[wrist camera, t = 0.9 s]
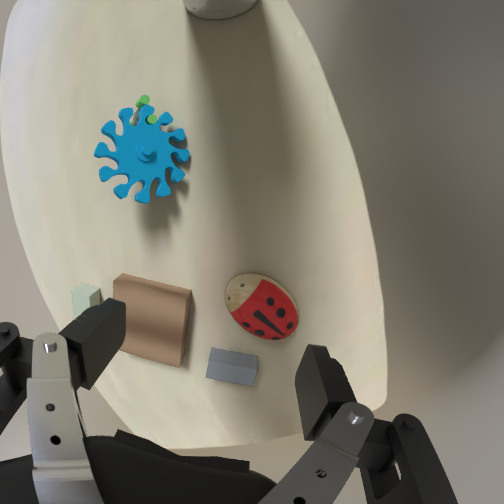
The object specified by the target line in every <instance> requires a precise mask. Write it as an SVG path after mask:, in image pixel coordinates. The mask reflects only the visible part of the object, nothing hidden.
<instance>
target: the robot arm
mask: <svg viewBox="0 0 504 504" xmlns="http://www.w3.org/2000/svg"><path fill="white" fill-rule="evenodd" d="M183 2H184V4H185V6H186V8H187V10H188V11H189V12H190V13H191V14H193V15H195V16H197V17H201V18H205V19H225V18H230V17H234V16H237V15H239V14H242V13H244V12H246V11H247V10H249V9H250V8H251V7H252V6H254V4H255V3H256V2H257V0H183ZM125 335H126V304H125V302H122V301H119V300H116V299H113V298H108V299H107V300H105V301H104V302H103V303H102V304H101V305H100V306H99V305H95V306H92V307H89V308H87V309H86V310H85V311H84V312H82V313H81V315H79V316H78V317H77V318H76V319H74V320H73V321H72V322H71V323H70V324H68V325H67V326H66V327H65V328H64V329H63V330H62V331H61V332H60V333H58V334H56V333H44V334H41V335H39V336H38V337H36V339H35V340H32V339H27V338H23V337H20V334H19V330H18V328H17V326H16V325H15V324H13V323H10V322H2V323H0V368H2V371H3V375H2V376H1V377H0V435H1V433H2V432H3V430H4V429H5V427H6V426H7V424H8V423H9V421H10V420H11V419H12V417H13V416H14V414H15V413H16V412H17V410H18V409H19V407H20V406H21V405H22V403H23V402H24V401H25V399H26V398H27V410H28V425H29V435H30V443H31V450H32V454H30V455H26V456H22V457H19V458H14V459H10V460H5V461H1V462H0V504H333V502H334V501H335V499H336V498H337V496H338V495H339V493H340V492H341V490H342V488H343V487H344V485H345V484H346V482H347V480H348V478H349V477H350V475H351V473H352V472H353V470H354V468H355V467H358V468H360V472H361V477H362V481H363V486H364V490H365V495H366V500H367V504H458V503H457V500H456V497H455V495H454V492H453V490H452V487H451V485H450V483H449V480H448V478H447V476H446V473H445V471H444V469H443V466H442V464H441V462H440V460H439V458H438V456H437V454H436V452H435V449H434V447H433V445H432V443H431V441H430V439H429V437H428V435H427V433H426V431H425V429H424V427H423V425H422V423H421V422H420V420H418V419H417V418H416V417H414V416H413V415H409V414H399V415H397V416H396V417H395V418H394V420H393V421H392V422H388V421H384V420H379V419H375V418H374V415H373V413H372V411H371V410H370V409H369V408H368V407H366V406H365V405H363V404H360V403H357V400H356V398H355V395H354V393H353V391H352V388H351V386H350V383H349V382H348V379H347V376H346V375H345V372H344V369H343V367H342V365H341V364H340V363H339V362H338V361H337V360H336V359H334V358H330V355H329V353H328V350H327V348H326V347H325V346H319V345H312V344H309V345H308V346H307V347H306V350H305V352H304V355H303V357H302V360H301V362H300V365H299V367H298V370H297V372H296V377H295V387H296V393H297V398H298V404H299V410H300V416H301V422H302V428H303V434H304V440H306V441H314V443H313V444H312V445H311V446H310V448H309V449H308V450H307V451H306V452H305V454H304V455H303V456H302V457H301V458H300V460H299V461H298V462H297V463H296V464H295V465H294V466H293V468H292V469H291V470H290V471H289V472H288V473H287V474H286V475H285V476H284V477H283V478H282V480H281V481H280V482H279V483H278V484H277V483H275V482H274V481H272V480H271V479H269V478H267V477H266V476H264V475H262V474H260V473H257V472H255V471H252V470H249V463H250V462H249V461H244V460H236V459H228V458H222V457H217V456H214V457H213V456H212V457H211V456H210V457H197V456H180V455H177V454H175V453H173V452H171V451H169V450H167V449H165V448H163V447H161V446H159V445H157V444H155V443H153V442H152V441H150V440H148V439H144V438H141V437H138V436H136V435H133V434H130V433H127V432H124V431H122V430H119V429H118V430H117V432H116V434H115V436H114V437H112V436H89V437H88V434H87V431H86V428H85V424H84V420H83V416H82V412H81V408H80V404H79V398H78V394H77V390H78V388H79V387H80V386H81V387H83V388H85V389H88V390H90V389H91V387H92V386H93V385H94V383H95V382H96V380H97V379H98V378H99V376H100V375H101V373H102V372H103V371H104V369H105V368H106V366H107V365H108V364H109V362H110V361H111V360H112V358H113V357H114V355H115V354H116V353H117V351H118V350H119V349H120V347H121V346H122V344H123V342H124V340H125ZM396 462H397V464H398V467H399V470H400V473H401V480H399V476H398V473H397V470H396V467H395V463H396Z"/></svg>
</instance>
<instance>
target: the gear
mask: <svg viewBox="0 0 504 504" xmlns="http://www.w3.org/2000/svg"><path fill="white" fill-rule="evenodd" d="M149 101H150V98H149V97H148V96H147V95H143V96H141V97H140V98H139V99H138V101H137V102H136V106H137V108H139V109H138V110H137V111H136V112H135V113H134V118H133V120H132V121H131V123H129V120H130V118H131V116H132V115H133V109H132V108H124V109H121V111H120V112H119V118H120V120H121V121H122V124H123V135H122V136H119V135H117V134H116V132H115V129H116V124H115V122H114V121H112V120H111V121H109V122H107V123H106V124H105V125H104V126H103V127H102V129H101V132H102V133H103V134H104V135H106V136H108V137H110V138H111V139H112V141H113V142H114V144H115V146H116V151H115V152H111V151H110V150H109V149H108V147H107V145H106V144H105V143H103V142H100V143H99V144H98V145H97V147H96V149H95V152H94V156H95V157H97V158H101V157H107V158H111V159H112V160H114V161H115V162H117V164H118V168H117V170H113V169H111V168H110V167H108V166H104V167H102V168H101V169H100V170H99V176H100V180H101V181H102V182H105V181H107V180H109V179H110V178H111V177H112V176H115V175H126V176H127V177H128V183H127V184H120V185H118V186H116V187H115V188H114V190H113V191H114V193H115V195H116V196H117V197H118V198H120V199H122V198H125V197H126V196H127V195H128V192H129V189H130V188H131V186H132V185H133V184H134V183H136V182H137V181H141V182H142V183H143V189H142V190H141V191H140V192H138V193H137V194H136V195H135V201H137V202H139V203H144V204H145V203H148V202H149V201H150V194H149V190H150V185H151V183H152V181H153V179H154V178H156V179H157V180H158V182H159V185H158V187H157V189H156V196H157V197H163V196H167V195H169V194H171V190H170V187H169V186H168V185H167V183H166V180H165V169H166V168H168V169H169V170H170V178H171V181H172V182H174V183H176V182H179V181H181V180H182V179H183V177H184V176H185V173H184V172H183V171H182V170H180V169H178V168H177V167H176V166H175V165H174V163H173V162H172V160H171V153H172V154H174V155H175V157H176V159H177V160H178V161H179V162H181V163H182V162H185V161H187V160H188V157H189V151H188V150H187V149H177V148H175V147H173V146H172V145H171V144H170V143H169V138H171V139H173V140H174V141H176V142H179V141H182V140H184V139H185V134H184V130H183V129H182V128H179V129H177V130H175V131H174V132H170V133H168V132H162V131H161V130H160V128H159V127H160V125H163V126H166V125H168V124H170V123H171V122H172V121H173V118H172V116H171V115H170V114H169V113H168V112H165V113H163V114H162V115H161V116H160V117H159V119H158V121H157V117H156V116H155V115H152V114H153V113H154V108H153V107H152V106H150V105H146V104H148V103H149Z"/></svg>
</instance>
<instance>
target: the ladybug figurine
mask: <svg viewBox="0 0 504 504" xmlns="http://www.w3.org/2000/svg"><path fill="white" fill-rule="evenodd" d="M225 301H226V305H227V308H228V310H229V312H230V313H231V315H232V316H233V318H234V319H235V320H236V321H237V322H238V323H239V324H240V325H241V326H242V327H243V328H244V329H246V330H247V331H249V332H250V333H252V334H254V335H256V336H258V337H261V338H265V339H271V340H279V339H283V338H286V337H288V336H289V335H290V336H293V335H294V334H295V329H296V327H297V324H298V319H299V313H298V308H297V305H296V303H295V301H294V299H293V298H292V296H291V295H290V294H289V292H288V291H287V290H286V289H285V288H284V287H283V286H281V285H280V284H279V283H277V282H276V281H274V280H272V279H270V278H268V277H266V276H263V275H259V274H253V273H247V274H241V275H238V276H236V277H234V278H233V279H232V280H231V281H230V282H229V283H228V285H227V287H226V290H225Z"/></svg>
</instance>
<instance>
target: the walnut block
mask: <svg viewBox="0 0 504 504" xmlns="http://www.w3.org/2000/svg"><path fill="white" fill-rule="evenodd" d="M190 297H191V290H189V289H185V288H181V287H176V286H172V285H168V284H163V283H159V282H155V281H151V280H147V279H143V278H139V277H135V276H131V275H127V274H124V273H122V274H121V275H120V276H119V277H117V278H116V279H115V280H114V281H113V299H116V300H119V301H122V302H125V304H126V335H125V340H124V342H123V344H122V346H121V347H120V349H119V350H120V351H123V352H126V353H130V354H133V355H136V356H139V357H142V358H146V359H149V360H153V361H156V362H160V363H164V364H167V365H171V366H175V367H179V368H180V365H181V362H182V360H183V357H184V349H185V340H186V330H187V322H188V313H189V305H190Z"/></svg>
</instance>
